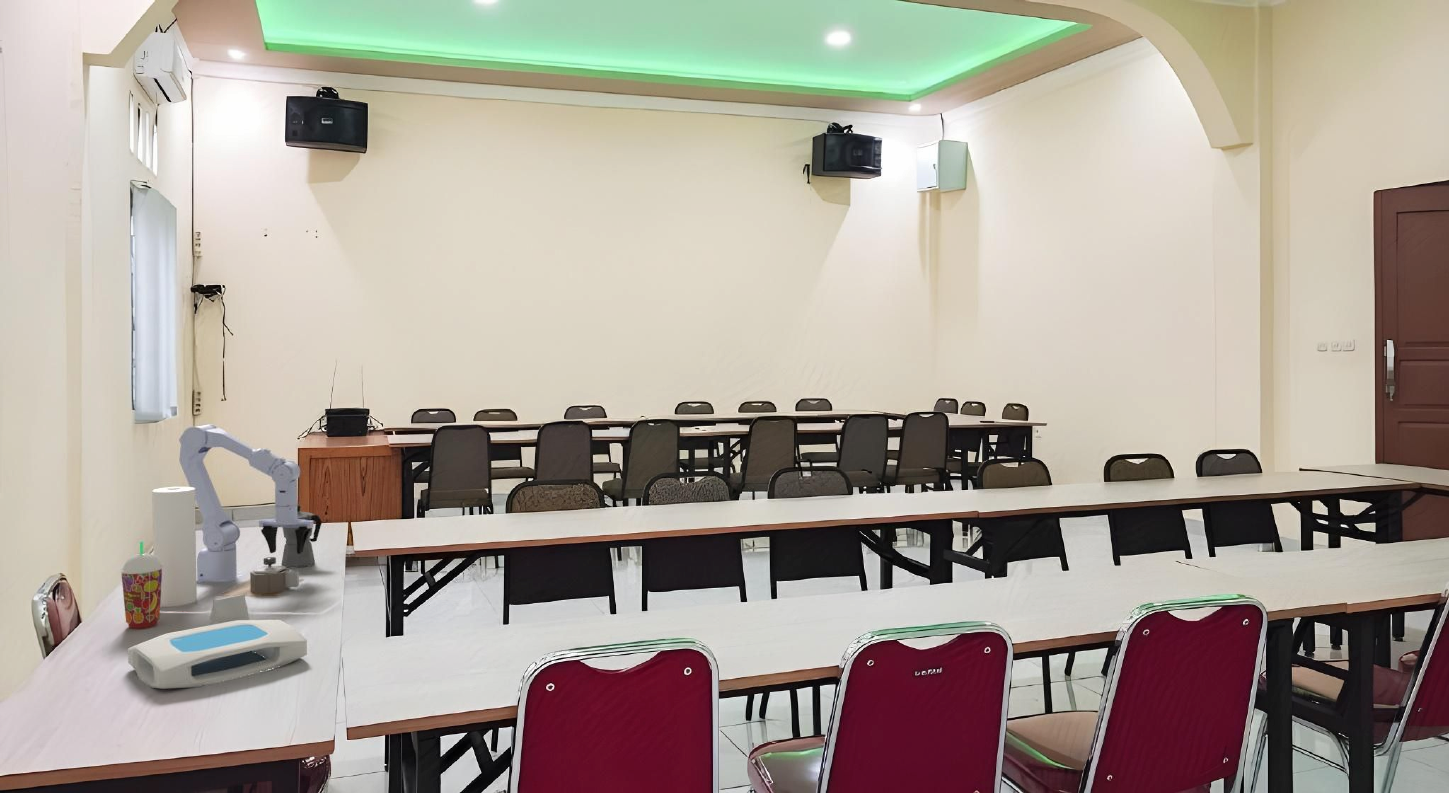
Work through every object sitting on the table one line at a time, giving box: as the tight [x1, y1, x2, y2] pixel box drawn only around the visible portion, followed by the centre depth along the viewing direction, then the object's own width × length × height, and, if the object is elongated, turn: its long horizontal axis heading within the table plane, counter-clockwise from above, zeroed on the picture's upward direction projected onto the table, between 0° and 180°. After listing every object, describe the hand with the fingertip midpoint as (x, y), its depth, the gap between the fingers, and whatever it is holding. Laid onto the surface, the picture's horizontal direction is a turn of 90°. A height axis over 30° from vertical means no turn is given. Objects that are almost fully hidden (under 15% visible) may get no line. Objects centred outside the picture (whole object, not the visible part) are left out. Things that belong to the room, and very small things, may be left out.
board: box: [217, 578, 305, 597], centre depth 259 cm, size 15×18×1 cm
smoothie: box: [120, 541, 163, 630], centre depth 225 cm, size 8×8×20 cm
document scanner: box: [127, 619, 308, 690], centre depth 198 cm, size 21×28×6 cm
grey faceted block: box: [249, 565, 300, 594], centre depth 257 cm, size 12×9×6 cm
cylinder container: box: [151, 486, 198, 608], centre depth 243 cm, size 9×9×30 cm
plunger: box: [263, 556, 277, 570], centre depth 257 cm, size 7×7×8 cm
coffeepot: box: [281, 504, 323, 568], centre depth 288 cm, size 15×9×18 cm, turn 70°
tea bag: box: [209, 594, 250, 625], centre depth 214 cm, size 4×7×10 cm, turn 143°
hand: (286, 552), depth 270 cm, fingers open, 7 cm apart
